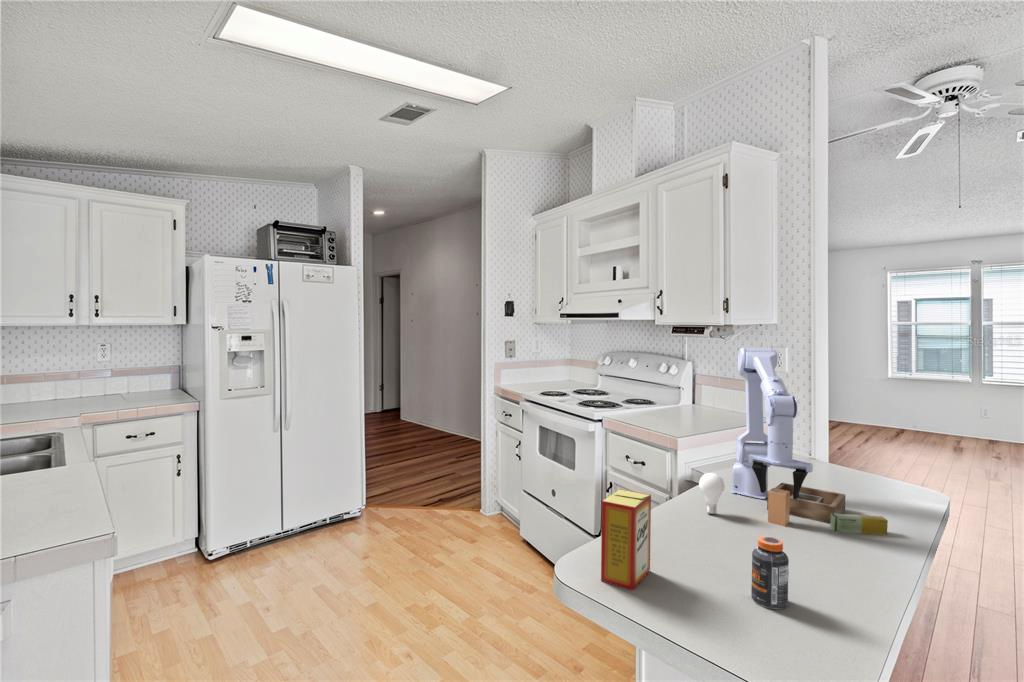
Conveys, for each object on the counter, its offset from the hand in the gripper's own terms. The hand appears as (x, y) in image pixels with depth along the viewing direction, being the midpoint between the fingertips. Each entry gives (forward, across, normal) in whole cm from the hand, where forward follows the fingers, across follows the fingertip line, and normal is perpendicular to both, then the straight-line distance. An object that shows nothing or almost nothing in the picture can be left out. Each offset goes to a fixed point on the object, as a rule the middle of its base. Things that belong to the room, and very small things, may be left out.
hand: (779, 495), depth 133 cm
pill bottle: (+8, +10, -44) cm, 46 cm away
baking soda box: (+7, -14, -53) cm, 55 cm away
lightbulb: (+7, -15, -6) cm, 18 cm away
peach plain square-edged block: (+7, 0, 0) cm, 7 cm away
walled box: (+7, +3, +15) cm, 17 cm away
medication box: (+8, +16, +7) cm, 19 cm away
